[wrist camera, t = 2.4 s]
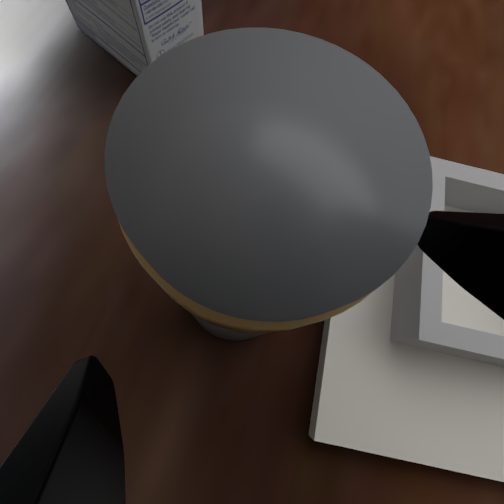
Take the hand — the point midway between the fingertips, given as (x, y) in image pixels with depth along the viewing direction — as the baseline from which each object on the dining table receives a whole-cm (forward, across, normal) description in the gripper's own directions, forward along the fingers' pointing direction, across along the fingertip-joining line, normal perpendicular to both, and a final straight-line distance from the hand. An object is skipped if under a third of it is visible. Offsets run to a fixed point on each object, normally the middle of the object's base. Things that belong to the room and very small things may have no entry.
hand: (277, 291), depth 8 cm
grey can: (+8, 0, +5) cm, 9 cm away
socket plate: (+3, -12, +10) cm, 15 cm away
